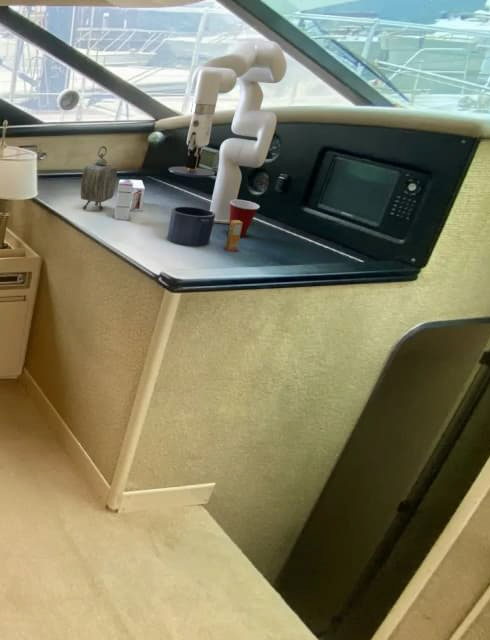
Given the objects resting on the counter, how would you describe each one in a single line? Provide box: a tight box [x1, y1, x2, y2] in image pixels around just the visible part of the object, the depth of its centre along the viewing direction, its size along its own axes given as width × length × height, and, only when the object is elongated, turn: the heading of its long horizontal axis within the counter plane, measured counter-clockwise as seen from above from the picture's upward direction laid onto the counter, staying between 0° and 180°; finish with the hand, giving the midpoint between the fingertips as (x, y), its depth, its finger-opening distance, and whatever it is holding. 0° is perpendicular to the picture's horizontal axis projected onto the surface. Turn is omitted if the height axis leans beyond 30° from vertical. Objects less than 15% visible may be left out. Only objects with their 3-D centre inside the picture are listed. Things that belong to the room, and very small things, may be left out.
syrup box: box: [114, 179, 134, 221], centre depth 239 cm, size 6×6×14 cm
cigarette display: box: [128, 179, 146, 212], centre depth 261 cm, size 20×6×9 cm, turn 172°
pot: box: [166, 206, 215, 247], centre depth 215 cm, size 15×20×10 cm
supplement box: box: [224, 220, 243, 252], centre depth 207 cm, size 3×3×10 cm
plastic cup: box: [228, 199, 261, 238], centre depth 225 cm, size 11×11×12 cm
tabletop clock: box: [80, 145, 118, 211], centre depth 248 cm, size 14×9×25 cm, turn 144°
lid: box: [168, 154, 216, 178], centre depth 208 cm, size 16×16×7 cm
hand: (192, 167), depth 208 cm, fingers closed on lid, 2 cm apart
